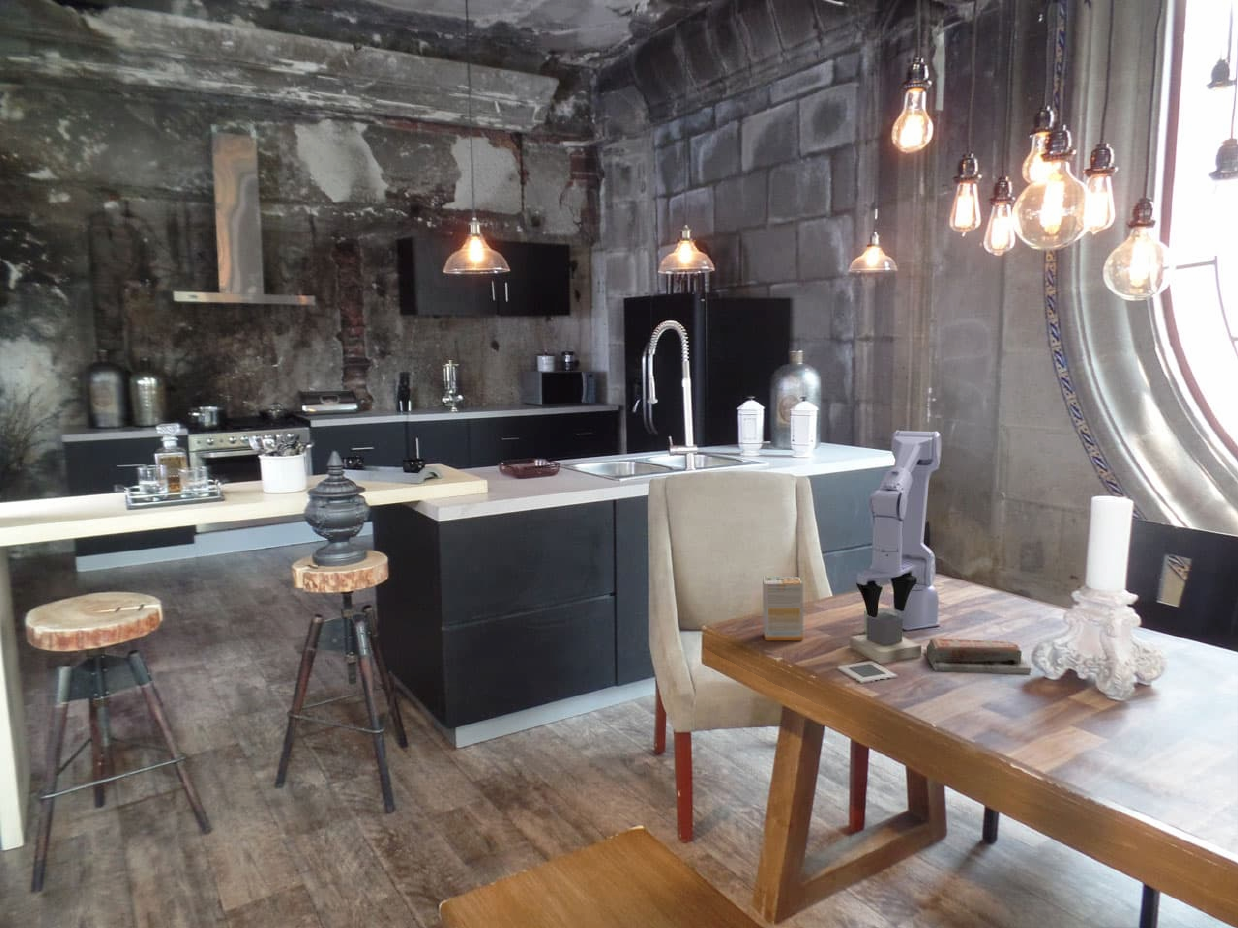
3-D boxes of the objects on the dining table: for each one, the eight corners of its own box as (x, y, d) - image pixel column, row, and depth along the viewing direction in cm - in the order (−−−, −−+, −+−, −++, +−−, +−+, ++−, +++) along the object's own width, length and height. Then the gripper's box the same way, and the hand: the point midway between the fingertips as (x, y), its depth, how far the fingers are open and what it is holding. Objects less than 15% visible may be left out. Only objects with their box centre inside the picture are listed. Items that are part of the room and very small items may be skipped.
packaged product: (935, 649, 163) (924, 632, 173) (934, 673, 164) (923, 654, 173) (1033, 652, 160) (1016, 634, 170) (1032, 676, 161) (1015, 657, 171)
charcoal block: (884, 634, 177) (884, 611, 176) (902, 641, 173) (902, 618, 172) (866, 639, 175) (866, 616, 174) (884, 646, 170) (884, 622, 170)
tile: (871, 662, 168) (872, 660, 168) (896, 677, 161) (897, 674, 161) (837, 668, 166) (837, 665, 166) (861, 683, 158) (861, 680, 158)
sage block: (882, 629, 188) (883, 607, 188) (896, 636, 184) (897, 614, 183) (863, 631, 187) (864, 610, 186) (877, 639, 182) (877, 616, 181)
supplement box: (800, 633, 186) (800, 576, 184) (802, 641, 182) (803, 582, 180) (762, 633, 187) (762, 576, 185) (764, 640, 182) (764, 582, 181)
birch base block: (889, 643, 180) (889, 630, 180) (920, 659, 171) (921, 645, 171) (850, 650, 177) (850, 636, 177) (879, 666, 168) (880, 652, 167)
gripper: (898, 540, 178) (897, 602, 180) (846, 549, 171) (845, 613, 173) (924, 546, 172) (922, 610, 173) (871, 556, 165) (870, 622, 167)
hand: (885, 612), depth 173 cm, fingers open, 7 cm apart
